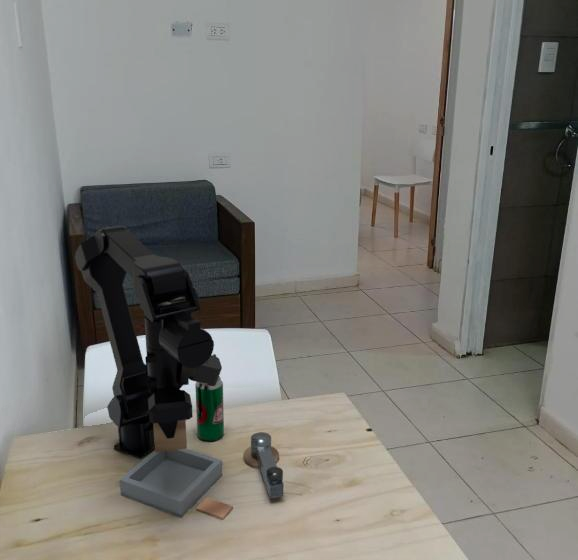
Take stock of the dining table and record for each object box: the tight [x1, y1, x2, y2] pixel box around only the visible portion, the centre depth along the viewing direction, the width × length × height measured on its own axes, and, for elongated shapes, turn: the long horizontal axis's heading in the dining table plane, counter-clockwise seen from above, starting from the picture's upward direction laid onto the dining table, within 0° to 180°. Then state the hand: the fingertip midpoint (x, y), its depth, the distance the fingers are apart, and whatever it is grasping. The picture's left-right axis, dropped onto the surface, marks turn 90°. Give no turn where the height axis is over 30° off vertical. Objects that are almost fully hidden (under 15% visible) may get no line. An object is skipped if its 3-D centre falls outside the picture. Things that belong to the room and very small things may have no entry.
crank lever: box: [250, 431, 285, 499], centre depth 105 cm, size 14×4×4 cm, turn 14°
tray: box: [118, 448, 223, 519], centre depth 103 cm, size 12×12×3 cm
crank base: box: [195, 445, 280, 520], centre depth 105 cm, size 6×20×1 cm, turn 154°
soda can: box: [194, 375, 225, 442], centre depth 116 cm, size 5×5×12 cm
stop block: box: [153, 420, 188, 453], centre depth 100 cm, size 4×5×8 cm
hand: (169, 430), depth 100 cm, fingers closed on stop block, 4 cm apart
